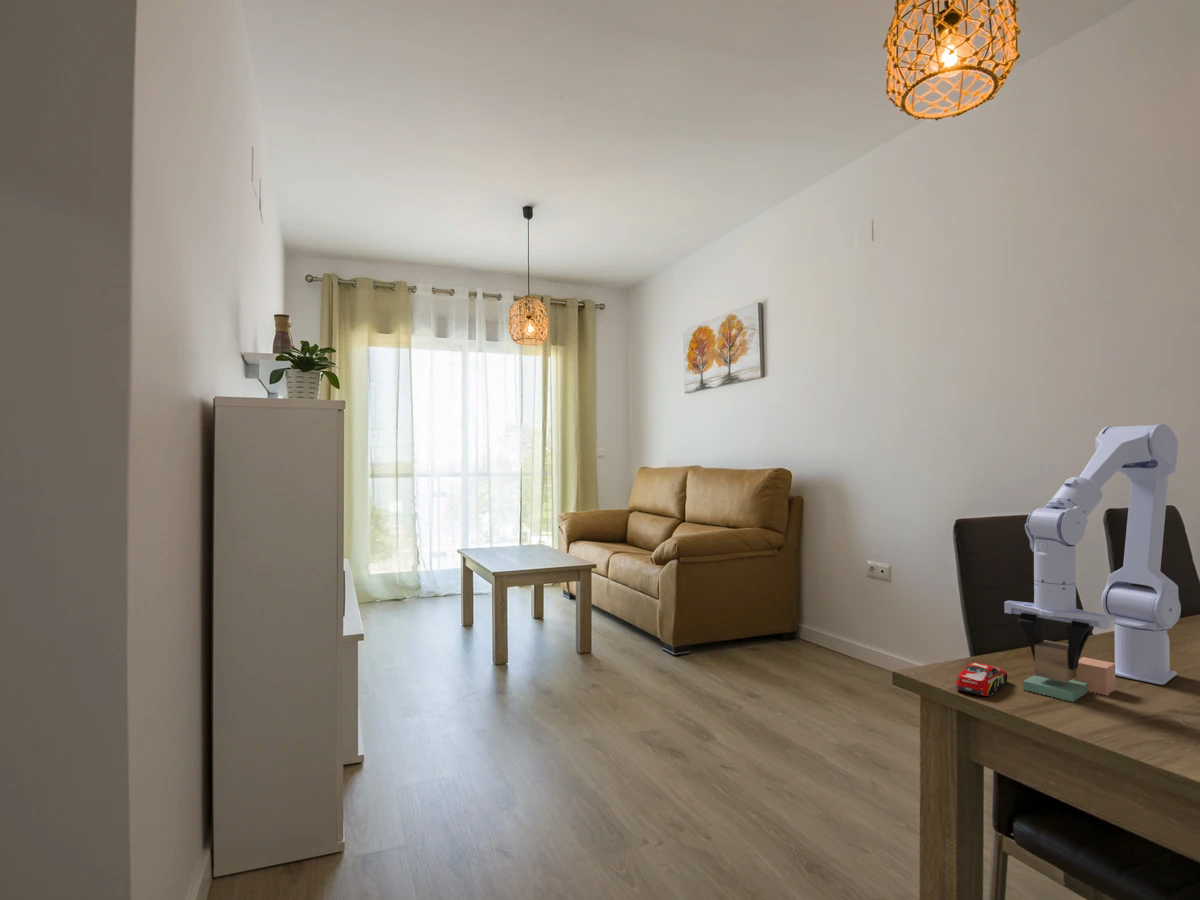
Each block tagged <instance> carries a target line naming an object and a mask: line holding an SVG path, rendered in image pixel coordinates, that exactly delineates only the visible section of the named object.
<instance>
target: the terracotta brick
mask: <svg viewBox="0 0 1200 900" xmlns="http://www.w3.org/2000/svg"><path fill="white" fill-rule="evenodd" d="M1073 680H1074V681H1079V682H1083V683H1088V691H1090V692H1089V693H1091V692H1095V693H1094V694H1096V693H1099V694H1098V695H1100V694H1104V695H1107V694H1109V693H1110V692H1112V691H1113V690H1115V691H1116V675H1115V662H1111V661H1106V660H1105V661H1104V660H1100V659H1095V658H1090V657H1085V656H1081V657H1080V658H1079V662H1078V668H1076V677H1075V678H1073ZM1113 692H1114V691H1113ZM1113 692H1112V693H1113ZM1110 694H1111V693H1110ZM1110 694H1109V695H1110ZM1104 695H1103V696H1104ZM1107 696H1108V695H1107Z"/></svg>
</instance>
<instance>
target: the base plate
mask: <svg viewBox="0 0 1200 900" xmlns="http://www.w3.org/2000/svg"><path fill="white" fill-rule="evenodd" d="M1022 685H1023V686H1022V691H1024V690H1026V691H1025V692H1028V691H1031V692H1030V693H1033V692H1035V693H1034V694H1037V693H1038V694H1037V695H1041V694H1042V696H1045V695H1047V696H1046V697H1049V696H1051V697H1050V698H1053V697H1055V698H1054V699H1057V698H1059V699H1058V700H1061V701H1062V700H1063V701H1066V700H1067V702H1070V701H1071V702H1070V703H1074V702H1075V700H1076V701H1077V700H1079V699H1081V698H1082V697H1084V696H1085V695H1087V694H1088V693H1089V692H1088V683H1083V682H1079V681H1074V679H1071V680H1070V681H1068V682H1063V681H1058V680H1054V679H1049V678H1045V677H1040V676H1036V675H1035V674H1034V675H1032V676H1030V677H1029V678H1027V679H1024V680H1023V682H1022ZM1087 692H1088V693H1087ZM1084 694H1085V695H1084ZM1081 696H1082V697H1081ZM1078 698H1079V699H1078Z"/></svg>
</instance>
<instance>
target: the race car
mask: <svg viewBox="0 0 1200 900" xmlns="http://www.w3.org/2000/svg"><path fill="white" fill-rule="evenodd" d="M1007 682H1008V673H1007V672H1006V670H1004V669H1002V668H999V667H996V666H993V665H990V664H985V663H979V662H970V663H967V664H966V666H965V667H964V668H963V669H962V670H961V672H960V673H959V674H957V676H956V680H955V690H957V691H961V692H966V693H971V694H975V695H977V696H988V697H991V696H992V695H991V694H992V693H993V694H994V693H996V692H997V691H998V690H999V689H1001V687H1003V686H1005V685H1006V684H1007ZM1005 683H1006V684H1005ZM1004 684H1005V685H1004ZM990 695H991V696H990Z"/></svg>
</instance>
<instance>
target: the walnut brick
mask: <svg viewBox="0 0 1200 900" xmlns="http://www.w3.org/2000/svg"><path fill="white" fill-rule="evenodd" d="M1068 651H1069V648H1068V643H1061V642H1057V641H1052V640H1046V639H1043V641H1042V642H1040V643H1038V644H1036V645H1035V662H1034V675H1036V676H1040V677H1045V678H1049V679H1054V680H1058V681H1063V682H1068V681H1070V680H1074V678H1075V677H1076V669H1074V670H1072V669H1069V659H1068Z"/></svg>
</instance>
